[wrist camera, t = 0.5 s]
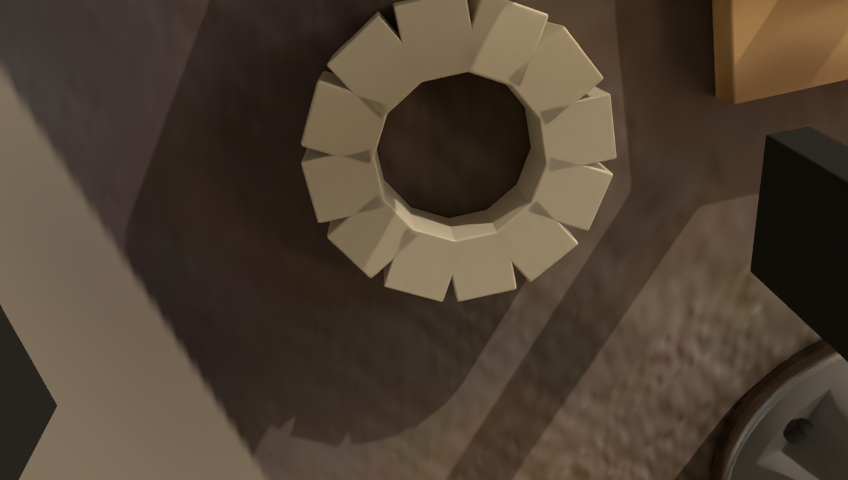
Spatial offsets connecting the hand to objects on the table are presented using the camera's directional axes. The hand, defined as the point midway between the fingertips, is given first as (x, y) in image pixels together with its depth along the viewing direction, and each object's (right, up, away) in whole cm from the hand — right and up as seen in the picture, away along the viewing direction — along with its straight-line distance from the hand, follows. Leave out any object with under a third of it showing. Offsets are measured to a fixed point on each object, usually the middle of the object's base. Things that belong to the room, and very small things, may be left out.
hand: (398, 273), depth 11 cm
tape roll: (+2, +4, +15) cm, 15 cm away
